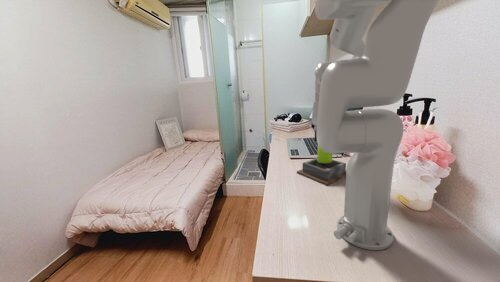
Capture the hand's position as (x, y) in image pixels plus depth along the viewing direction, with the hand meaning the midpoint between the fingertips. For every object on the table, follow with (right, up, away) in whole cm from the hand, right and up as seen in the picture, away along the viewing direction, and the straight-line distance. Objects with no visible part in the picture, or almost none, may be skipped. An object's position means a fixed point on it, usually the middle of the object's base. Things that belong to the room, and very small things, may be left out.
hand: (324, 141), depth 85 cm
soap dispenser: (+1, -9, +2) cm, 9 cm away
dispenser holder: (+1, -14, +4) cm, 14 cm away
